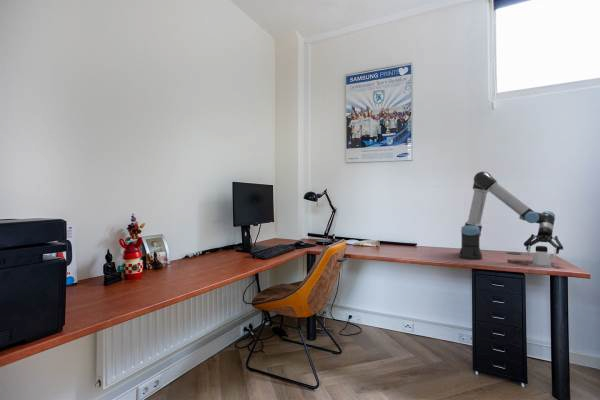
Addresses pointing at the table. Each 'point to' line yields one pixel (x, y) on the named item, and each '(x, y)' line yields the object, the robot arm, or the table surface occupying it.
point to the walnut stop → (518, 262)
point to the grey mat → (541, 265)
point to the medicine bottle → (541, 256)
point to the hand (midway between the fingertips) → (541, 255)
